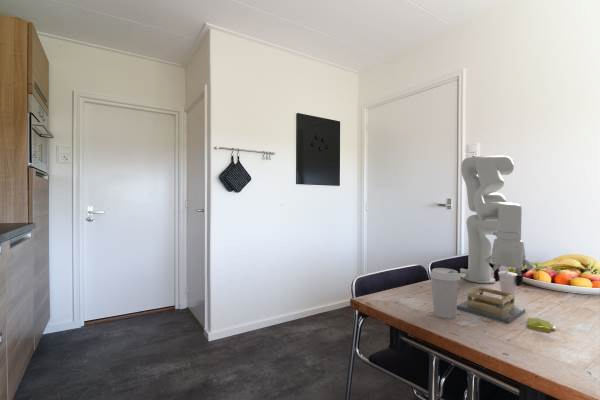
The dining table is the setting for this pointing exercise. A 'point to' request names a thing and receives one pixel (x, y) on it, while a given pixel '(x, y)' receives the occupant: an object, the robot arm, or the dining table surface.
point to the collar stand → (492, 305)
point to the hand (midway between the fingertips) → (507, 282)
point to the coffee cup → (444, 291)
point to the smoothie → (507, 281)
